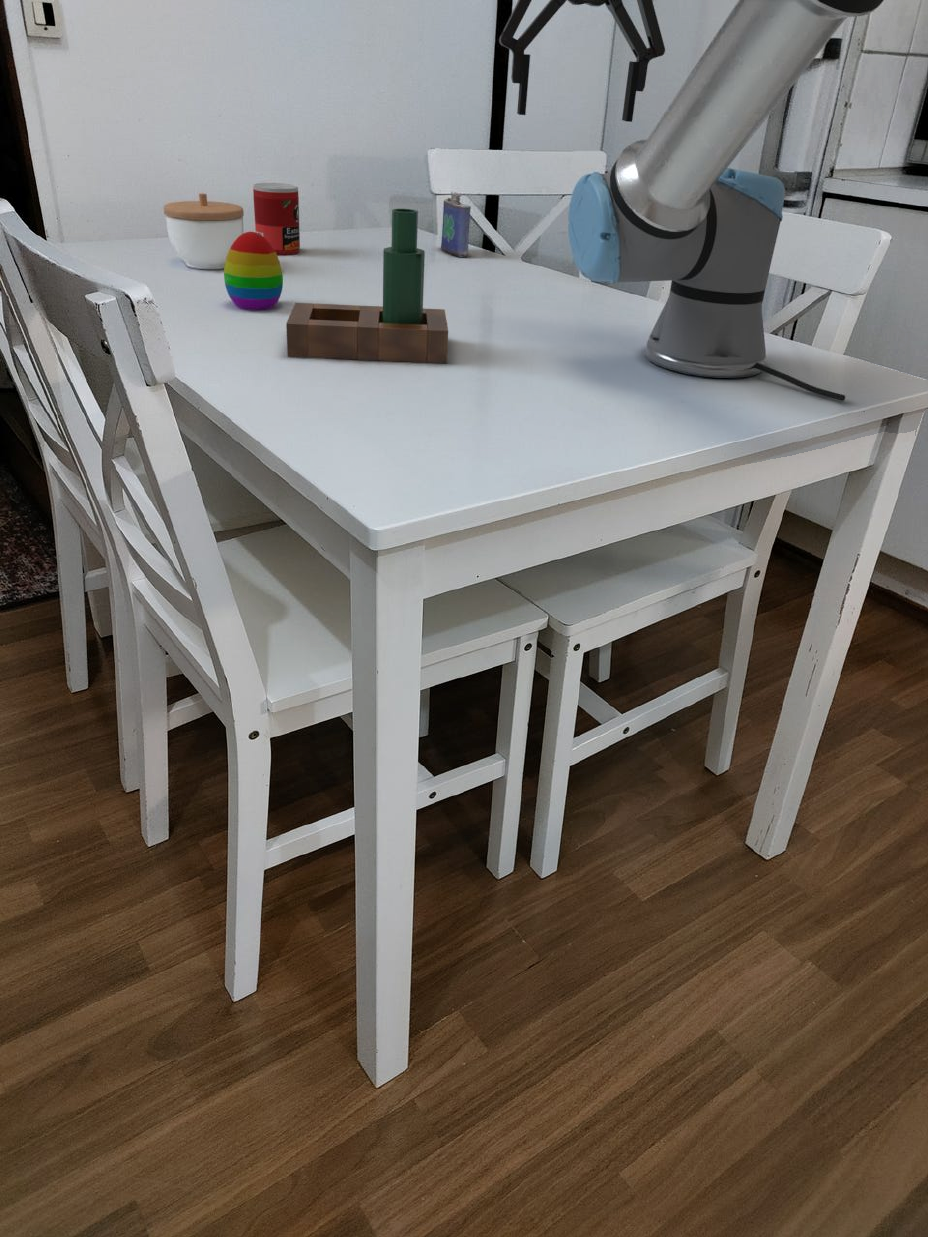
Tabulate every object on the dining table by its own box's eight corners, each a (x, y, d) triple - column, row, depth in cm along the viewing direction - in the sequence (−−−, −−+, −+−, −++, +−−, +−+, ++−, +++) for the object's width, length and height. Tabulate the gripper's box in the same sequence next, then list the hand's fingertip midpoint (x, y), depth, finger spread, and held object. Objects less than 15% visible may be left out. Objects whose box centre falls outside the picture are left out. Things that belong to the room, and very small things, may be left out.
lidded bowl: (230, 275, 151) (225, 201, 145) (156, 268, 152) (148, 195, 146) (257, 261, 161) (253, 192, 156) (187, 255, 163) (181, 186, 157)
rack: (443, 339, 125) (444, 309, 123) (446, 363, 115) (448, 330, 113) (296, 333, 123) (295, 302, 121) (287, 356, 114) (286, 323, 112)
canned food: (291, 256, 167) (289, 189, 161) (249, 252, 168) (245, 185, 162) (306, 249, 173) (304, 185, 168) (265, 245, 175) (262, 181, 169)
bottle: (429, 350, 120) (434, 211, 111) (401, 356, 117) (405, 214, 108) (401, 341, 123) (405, 206, 114) (374, 347, 119) (375, 208, 111)
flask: (470, 257, 176) (473, 195, 171) (456, 257, 175) (459, 195, 170) (450, 248, 183) (452, 188, 178) (436, 248, 182) (438, 188, 177)
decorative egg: (225, 312, 131) (220, 235, 125) (226, 298, 137) (221, 225, 132) (285, 312, 132) (281, 237, 127) (283, 299, 139) (279, 227, 134)
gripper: (693, -79, 111) (663, 121, 122) (486, -96, 109) (474, 109, 120) (711, -87, 105) (677, 125, 116) (491, -105, 103) (478, 113, 114)
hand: (574, 117), depth 118 cm, fingers open, 13 cm apart
